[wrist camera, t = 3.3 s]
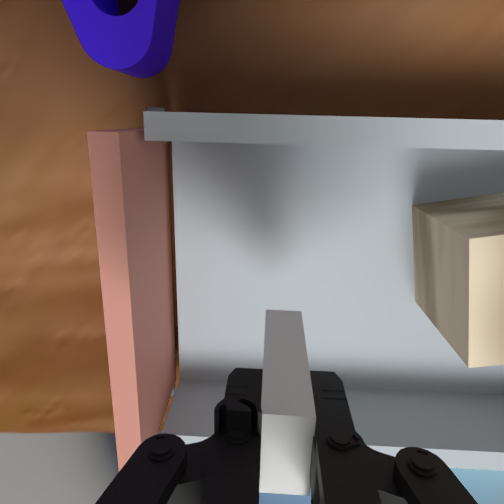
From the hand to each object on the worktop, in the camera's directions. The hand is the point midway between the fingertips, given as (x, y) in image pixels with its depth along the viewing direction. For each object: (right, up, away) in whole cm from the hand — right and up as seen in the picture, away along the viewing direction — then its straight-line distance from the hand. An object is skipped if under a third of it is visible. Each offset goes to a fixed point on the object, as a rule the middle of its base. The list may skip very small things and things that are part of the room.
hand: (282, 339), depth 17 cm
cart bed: (+6, +3, +10) cm, 12 cm away
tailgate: (-8, +2, +4) cm, 9 cm away
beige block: (+11, +4, +6) cm, 13 cm away
